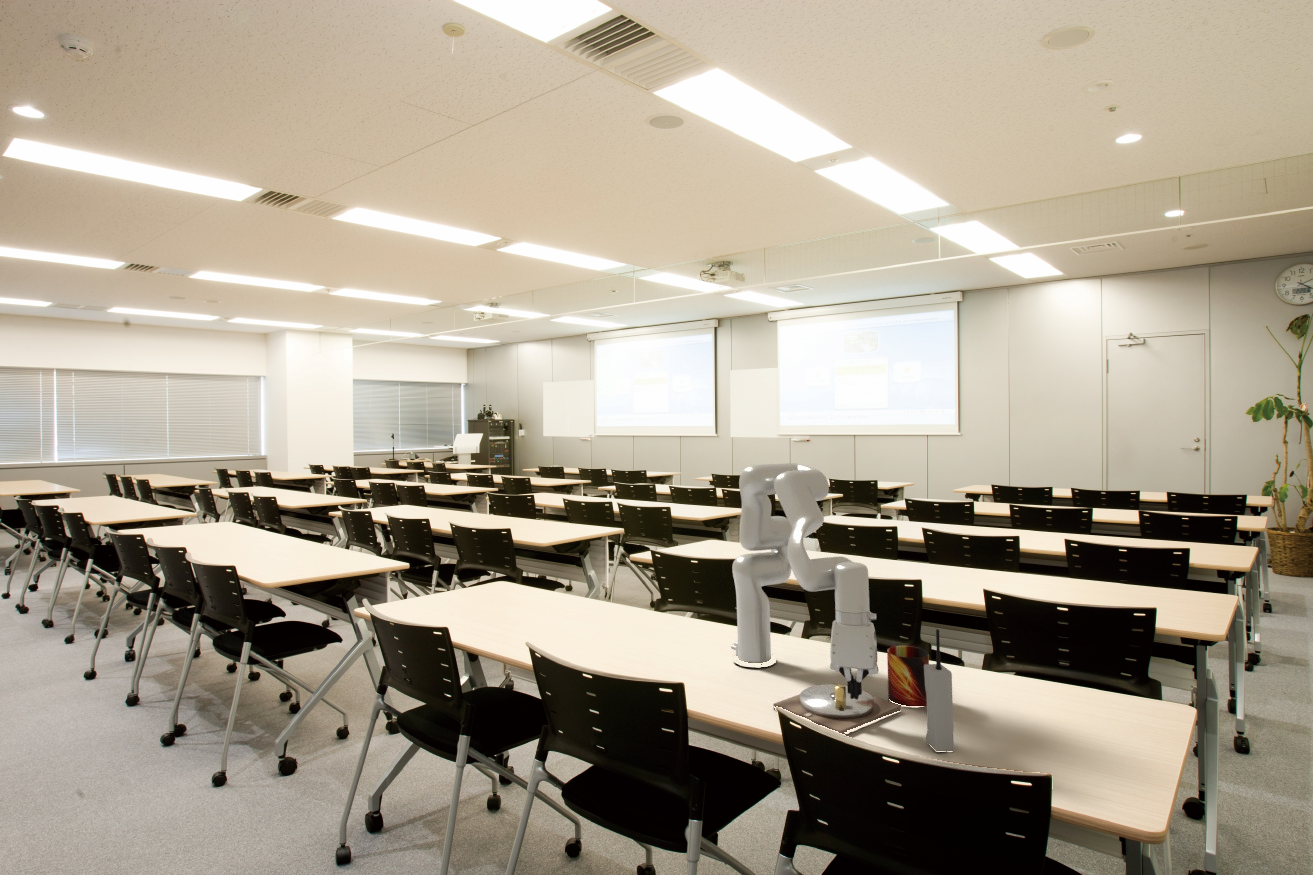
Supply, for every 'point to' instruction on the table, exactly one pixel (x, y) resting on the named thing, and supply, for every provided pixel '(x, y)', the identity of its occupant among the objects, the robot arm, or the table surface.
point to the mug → (907, 675)
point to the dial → (835, 702)
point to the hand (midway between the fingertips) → (854, 696)
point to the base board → (840, 724)
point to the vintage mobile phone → (939, 704)
